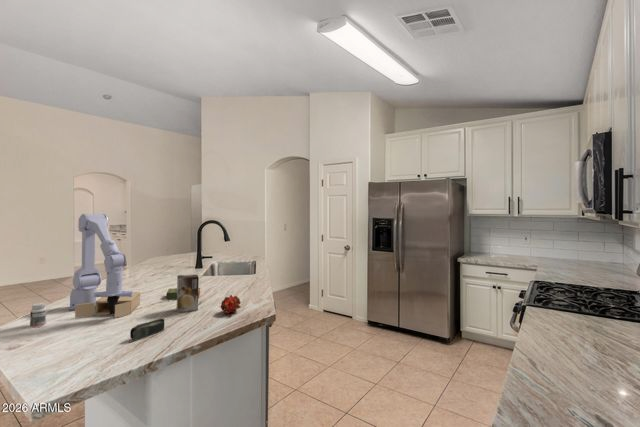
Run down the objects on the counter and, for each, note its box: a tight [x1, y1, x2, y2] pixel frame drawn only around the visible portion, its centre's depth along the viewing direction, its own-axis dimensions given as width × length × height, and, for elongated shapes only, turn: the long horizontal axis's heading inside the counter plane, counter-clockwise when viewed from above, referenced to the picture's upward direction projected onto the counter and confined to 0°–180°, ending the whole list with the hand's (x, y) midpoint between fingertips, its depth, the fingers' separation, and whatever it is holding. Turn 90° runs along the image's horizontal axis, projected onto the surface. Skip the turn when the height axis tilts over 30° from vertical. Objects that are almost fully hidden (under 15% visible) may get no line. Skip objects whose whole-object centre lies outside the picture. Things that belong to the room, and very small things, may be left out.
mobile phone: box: [128, 318, 165, 343], centre depth 122 cm, size 5×3×15 cm
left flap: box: [74, 302, 95, 319], centre depth 138 cm, size 7×1×5 cm, turn 128°
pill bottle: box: [29, 302, 47, 328], centre depth 127 cm, size 5×5×8 cm
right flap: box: [113, 302, 131, 319], centre depth 141 cm, size 7×1×5 cm, turn 151°
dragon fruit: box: [220, 294, 242, 315], centre depth 152 cm, size 8×8×12 cm
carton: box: [165, 287, 201, 300], centre depth 174 cm, size 8×16×4 cm, turn 107°
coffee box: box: [176, 273, 200, 313], centre depth 154 cm, size 9×6×16 cm
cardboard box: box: [94, 291, 141, 316], centre depth 149 cm, size 14×14×6 cm
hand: (113, 313), depth 138 cm, fingers closed, pressing on right flap
